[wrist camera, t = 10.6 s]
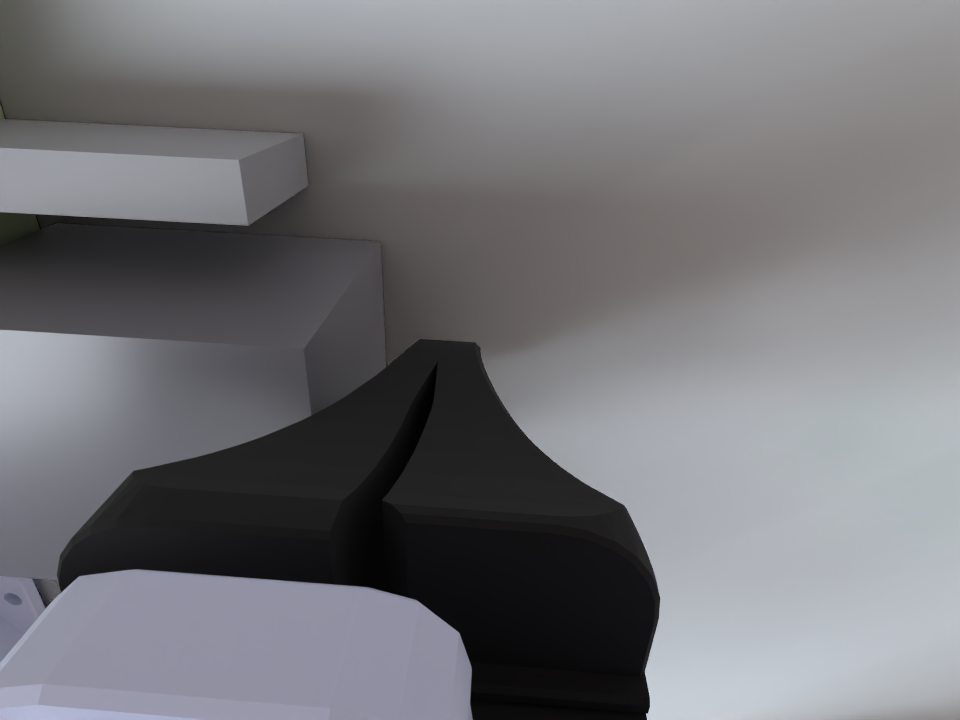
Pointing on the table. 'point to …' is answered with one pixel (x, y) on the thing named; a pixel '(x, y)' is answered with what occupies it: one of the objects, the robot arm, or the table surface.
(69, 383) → the grey block
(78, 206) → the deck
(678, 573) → the table surface
